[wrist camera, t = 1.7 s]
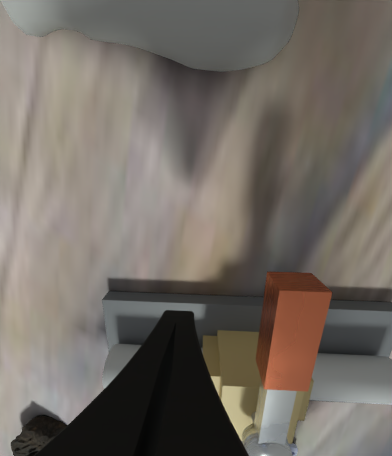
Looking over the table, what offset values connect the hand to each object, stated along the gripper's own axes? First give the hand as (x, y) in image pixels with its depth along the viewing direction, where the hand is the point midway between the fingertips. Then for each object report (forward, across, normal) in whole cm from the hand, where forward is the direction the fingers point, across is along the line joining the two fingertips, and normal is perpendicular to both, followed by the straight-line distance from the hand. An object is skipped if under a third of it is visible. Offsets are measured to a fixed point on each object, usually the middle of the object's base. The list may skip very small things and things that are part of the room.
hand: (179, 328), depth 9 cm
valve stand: (+7, -5, +8) cm, 12 cm away
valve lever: (+1, -5, +3) cm, 6 cm away
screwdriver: (+8, +7, -16) cm, 19 cm away
